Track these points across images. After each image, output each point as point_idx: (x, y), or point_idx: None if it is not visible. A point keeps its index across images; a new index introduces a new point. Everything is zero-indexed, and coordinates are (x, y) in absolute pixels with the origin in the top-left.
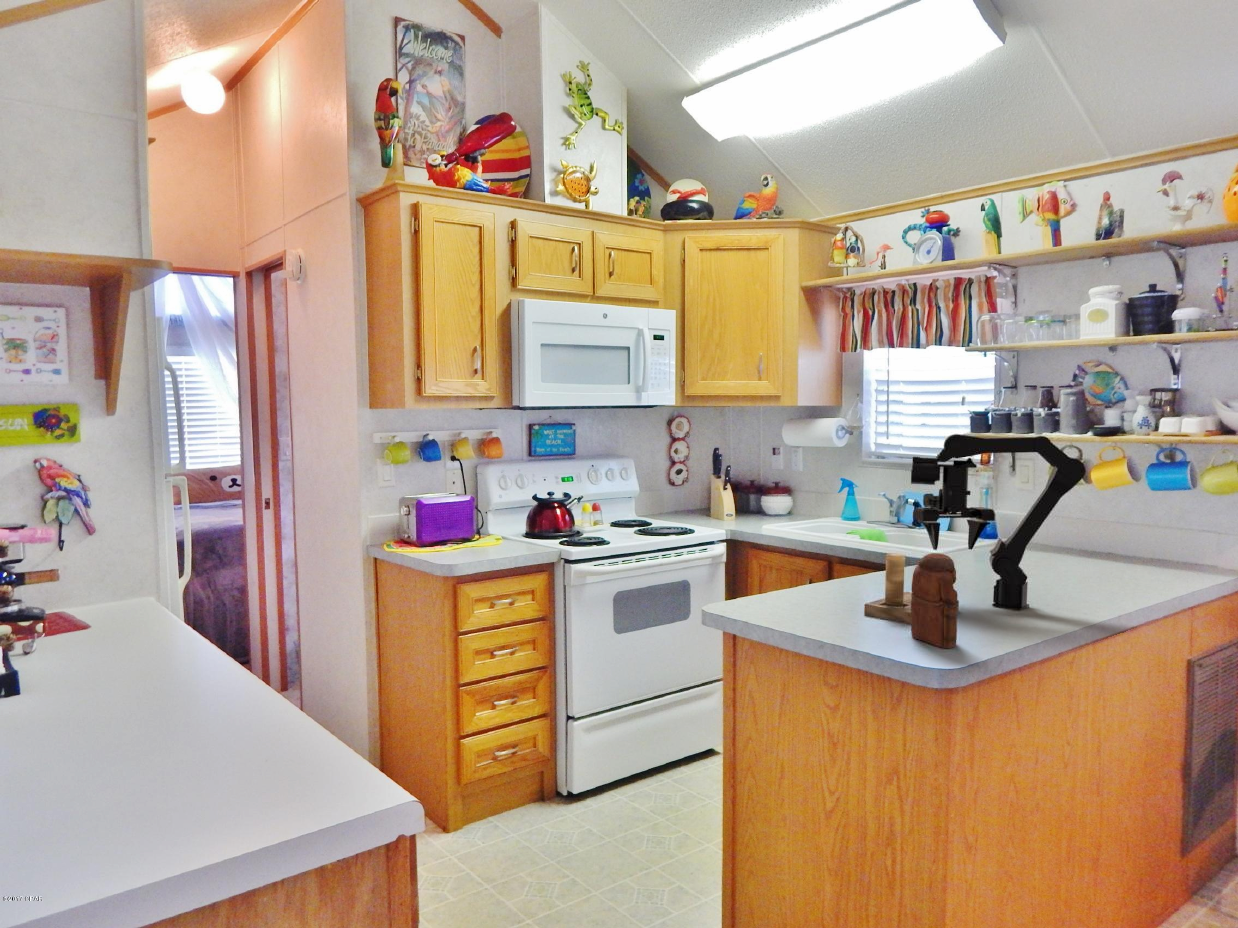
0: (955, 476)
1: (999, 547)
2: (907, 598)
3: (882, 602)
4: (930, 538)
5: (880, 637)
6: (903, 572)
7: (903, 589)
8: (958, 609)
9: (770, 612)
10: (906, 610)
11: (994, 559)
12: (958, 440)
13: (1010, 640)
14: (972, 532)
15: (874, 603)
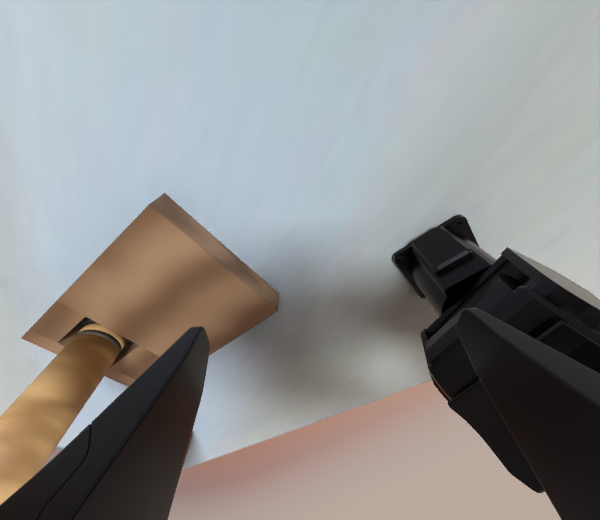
0: None
1: (497, 456)
2: (139, 291)
3: (67, 326)
4: (124, 406)
5: (89, 417)
6: (58, 442)
7: (95, 388)
8: (277, 296)
9: None
10: (125, 378)
11: (444, 392)
12: None
13: (273, 422)
14: (581, 469)
15: (47, 334)
